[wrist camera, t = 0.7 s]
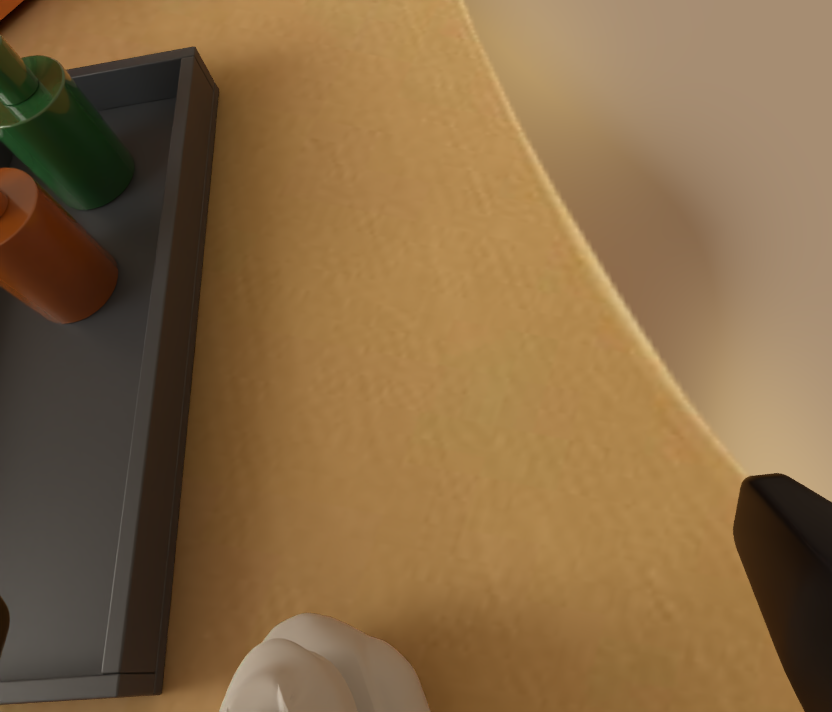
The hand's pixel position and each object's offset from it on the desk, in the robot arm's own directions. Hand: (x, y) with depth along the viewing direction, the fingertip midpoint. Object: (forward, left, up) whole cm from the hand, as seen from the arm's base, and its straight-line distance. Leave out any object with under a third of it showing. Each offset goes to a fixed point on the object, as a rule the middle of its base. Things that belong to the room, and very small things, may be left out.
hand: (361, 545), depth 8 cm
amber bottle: (+14, +15, -13) cm, 24 cm away
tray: (+11, +15, -14) cm, 23 cm away
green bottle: (+19, +15, -13) cm, 27 cm away
